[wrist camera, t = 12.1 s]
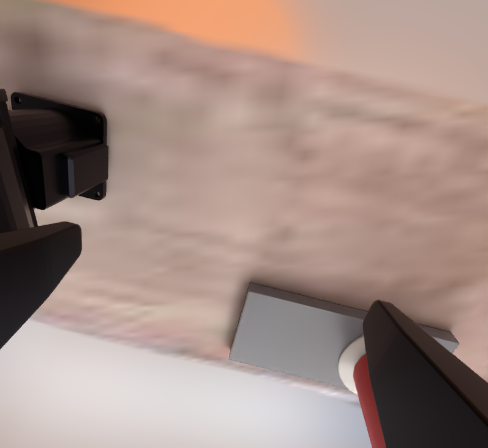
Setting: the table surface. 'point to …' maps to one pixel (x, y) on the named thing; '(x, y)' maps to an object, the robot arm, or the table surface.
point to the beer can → (368, 402)
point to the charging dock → (305, 336)
